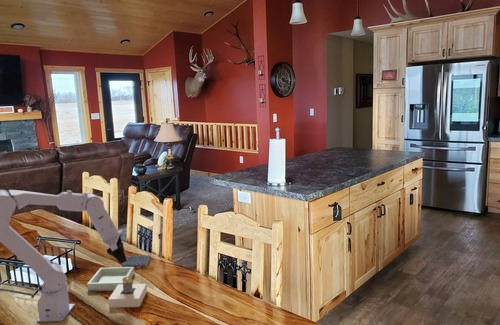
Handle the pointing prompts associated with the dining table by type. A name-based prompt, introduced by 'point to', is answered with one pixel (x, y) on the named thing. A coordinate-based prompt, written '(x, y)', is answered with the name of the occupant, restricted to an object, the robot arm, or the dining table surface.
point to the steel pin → (127, 285)
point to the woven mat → (137, 261)
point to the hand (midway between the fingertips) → (122, 256)
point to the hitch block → (127, 296)
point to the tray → (109, 278)
